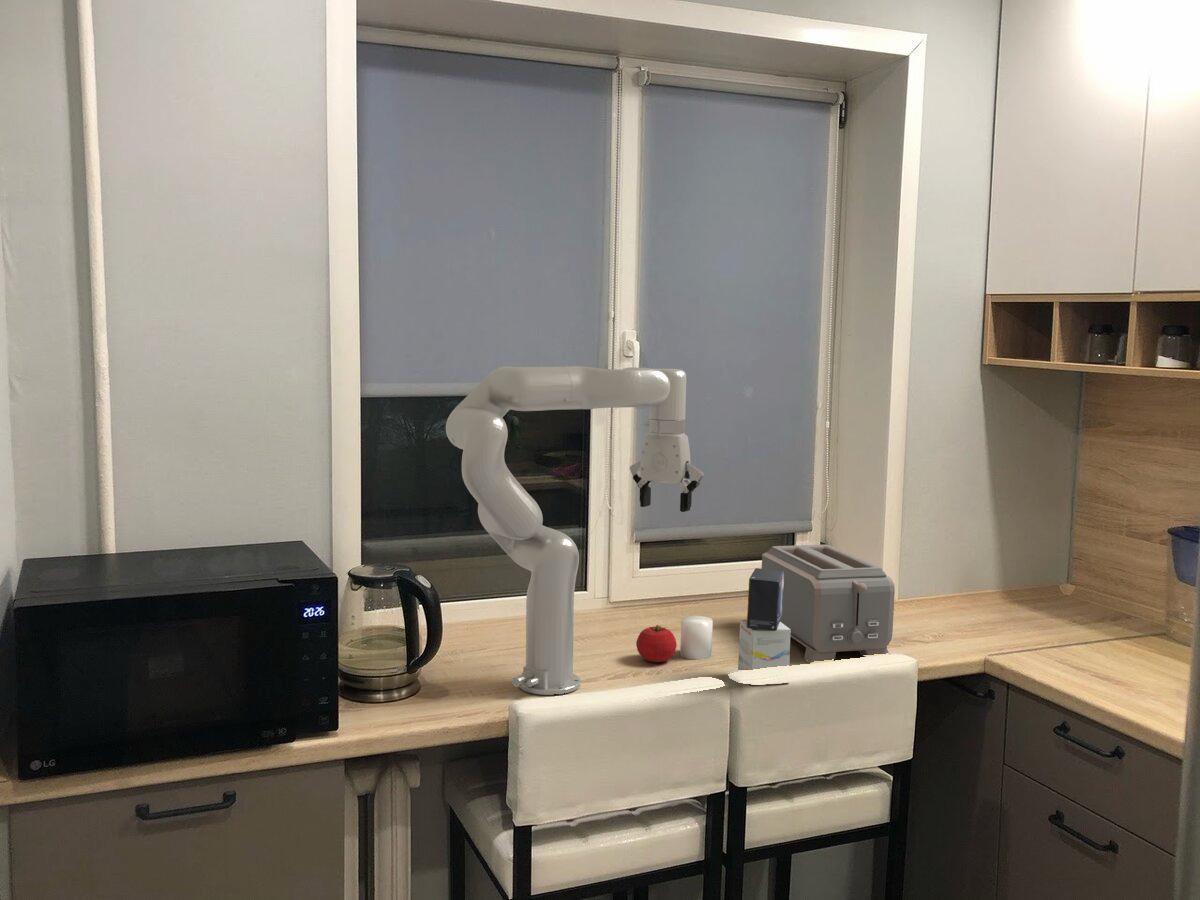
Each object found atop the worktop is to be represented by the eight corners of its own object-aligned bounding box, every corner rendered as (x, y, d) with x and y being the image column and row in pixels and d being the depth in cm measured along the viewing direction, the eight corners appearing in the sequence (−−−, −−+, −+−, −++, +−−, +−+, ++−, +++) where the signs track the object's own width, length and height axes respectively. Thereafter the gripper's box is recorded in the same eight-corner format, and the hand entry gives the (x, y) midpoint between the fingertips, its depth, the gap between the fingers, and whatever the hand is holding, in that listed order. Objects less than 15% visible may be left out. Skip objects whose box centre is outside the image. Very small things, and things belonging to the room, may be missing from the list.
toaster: (819, 670, 217) (823, 576, 215) (756, 625, 251) (759, 544, 249) (900, 664, 222) (905, 573, 220) (827, 621, 256) (830, 542, 254)
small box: (778, 632, 203) (780, 580, 202) (745, 629, 205) (747, 578, 204) (783, 618, 213) (785, 569, 212) (752, 615, 215) (754, 567, 214)
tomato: (656, 651, 228) (657, 617, 227) (684, 661, 221) (685, 625, 220) (627, 659, 222) (628, 623, 221) (655, 669, 215) (656, 633, 214)
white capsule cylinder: (702, 661, 221) (703, 626, 220) (674, 655, 225) (675, 620, 224) (717, 653, 227) (718, 619, 226) (689, 648, 231) (690, 614, 230)
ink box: (790, 684, 207) (792, 628, 206) (750, 686, 206) (752, 629, 205) (775, 671, 216) (777, 616, 214) (736, 672, 214) (738, 618, 213)
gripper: (622, 426, 213) (620, 506, 215) (694, 431, 204) (692, 515, 206) (641, 424, 220) (639, 502, 221) (712, 429, 210) (709, 510, 212)
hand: (664, 508), depth 214 cm, fingers open, 9 cm apart
